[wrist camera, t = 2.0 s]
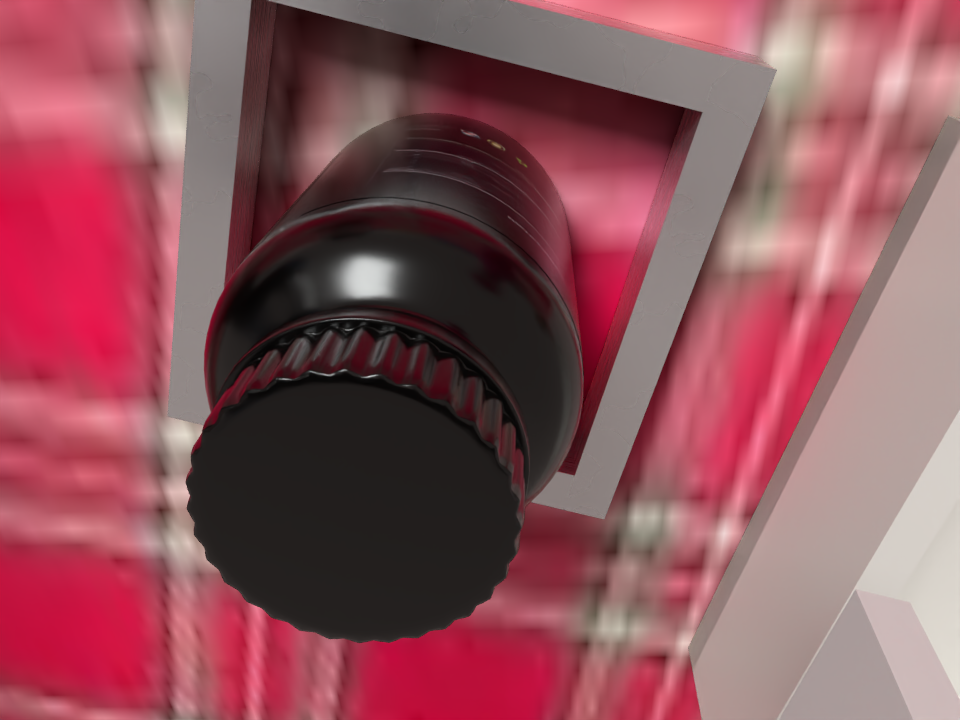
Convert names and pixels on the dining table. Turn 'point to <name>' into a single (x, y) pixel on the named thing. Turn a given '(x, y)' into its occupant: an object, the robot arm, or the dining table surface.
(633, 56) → the socket collar
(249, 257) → the supplement bottle
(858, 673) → the robot arm
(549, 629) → the dining table surface
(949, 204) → the bin
